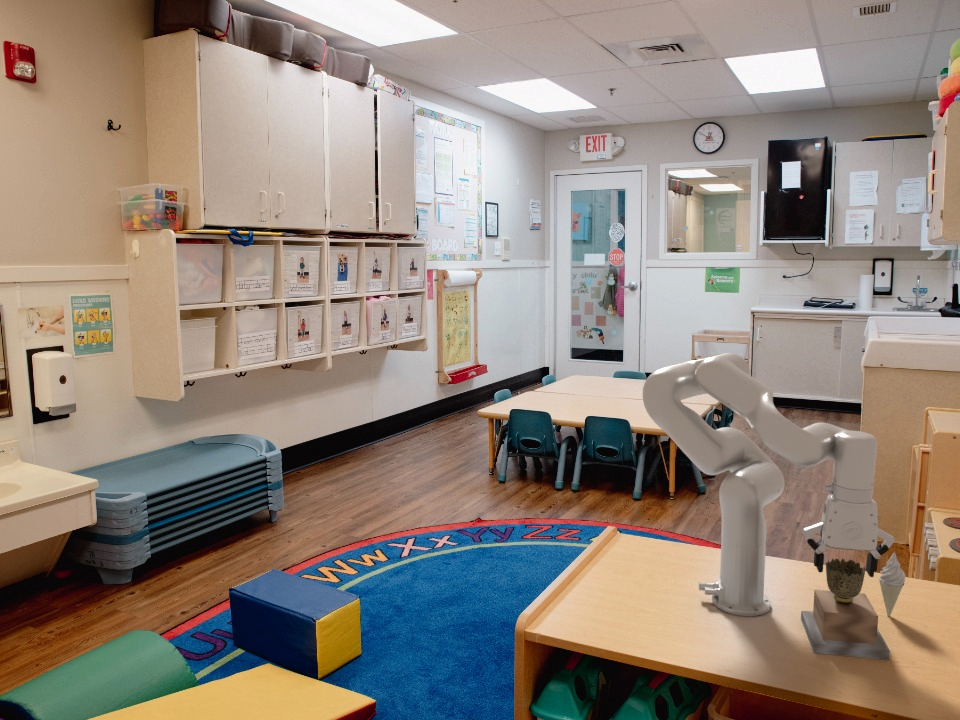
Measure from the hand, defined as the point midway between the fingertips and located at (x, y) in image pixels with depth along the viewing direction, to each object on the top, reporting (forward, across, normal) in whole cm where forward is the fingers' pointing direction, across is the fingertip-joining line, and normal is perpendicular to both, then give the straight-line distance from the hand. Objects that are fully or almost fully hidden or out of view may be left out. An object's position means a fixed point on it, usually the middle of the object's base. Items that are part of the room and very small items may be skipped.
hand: (844, 571), depth 160 cm
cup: (+7, 0, 0) cm, 7 cm away
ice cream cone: (+15, +13, +12) cm, 23 cm away
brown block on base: (+14, +1, 0) cm, 15 cm away
